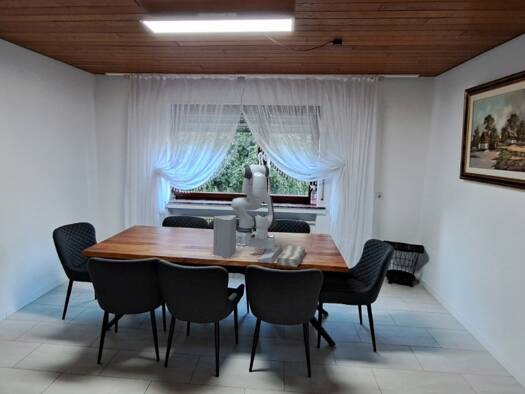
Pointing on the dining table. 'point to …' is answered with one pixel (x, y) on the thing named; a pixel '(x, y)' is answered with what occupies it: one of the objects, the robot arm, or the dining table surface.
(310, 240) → the dining table surface
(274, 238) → the robot arm
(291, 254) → the grey beige flat block
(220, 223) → the tall grey upright block
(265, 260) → the decorative molding
